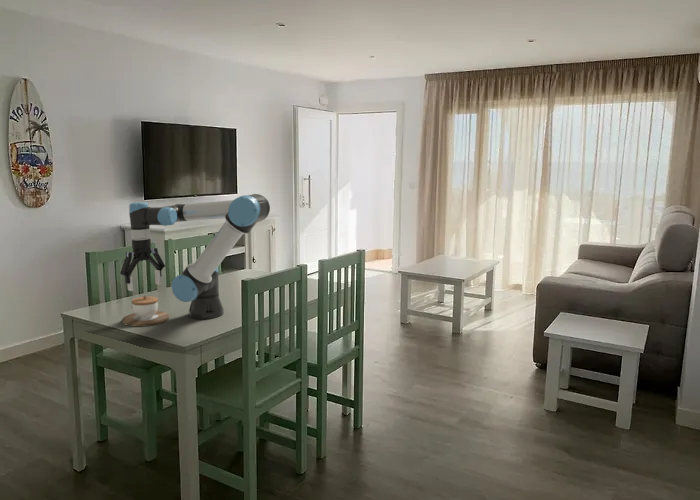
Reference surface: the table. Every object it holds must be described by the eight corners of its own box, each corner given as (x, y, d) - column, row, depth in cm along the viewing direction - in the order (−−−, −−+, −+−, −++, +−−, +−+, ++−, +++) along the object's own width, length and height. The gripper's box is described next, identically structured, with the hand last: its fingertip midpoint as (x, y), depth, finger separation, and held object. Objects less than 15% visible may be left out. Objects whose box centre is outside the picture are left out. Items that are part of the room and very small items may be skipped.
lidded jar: (131, 321, 229) (129, 299, 228) (134, 314, 239) (132, 293, 238) (158, 319, 232) (156, 298, 230) (159, 312, 242) (158, 292, 241)
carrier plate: (177, 315, 242) (177, 313, 242) (149, 328, 224) (149, 325, 224) (142, 311, 248) (142, 309, 248) (112, 323, 230) (112, 320, 230)
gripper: (160, 234, 242) (163, 280, 246) (108, 241, 222) (113, 292, 226) (171, 235, 238) (174, 282, 241) (119, 243, 218) (123, 294, 221)
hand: (144, 287), depth 233 cm, fingers open, 13 cm apart
